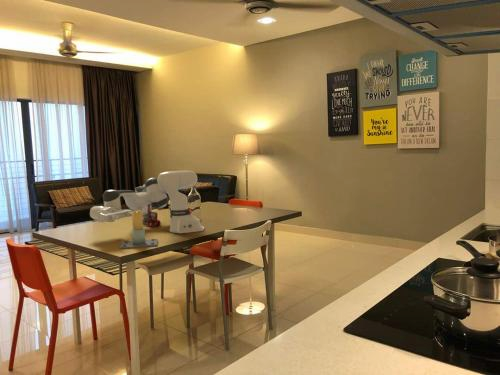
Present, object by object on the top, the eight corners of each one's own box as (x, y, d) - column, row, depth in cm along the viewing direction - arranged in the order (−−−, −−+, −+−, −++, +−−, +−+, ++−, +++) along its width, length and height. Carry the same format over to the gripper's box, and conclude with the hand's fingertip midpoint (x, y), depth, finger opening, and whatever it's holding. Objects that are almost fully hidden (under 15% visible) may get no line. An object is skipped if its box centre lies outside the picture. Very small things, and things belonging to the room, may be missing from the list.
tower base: (157, 240, 241) (156, 225, 240) (157, 246, 227) (156, 230, 226) (122, 243, 237) (121, 228, 236) (119, 249, 223) (118, 233, 222)
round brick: (143, 227, 234) (142, 209, 233) (143, 229, 229) (141, 211, 228) (133, 228, 233) (132, 210, 232) (132, 230, 228) (131, 211, 227)
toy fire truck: (153, 224, 291) (153, 209, 290) (162, 226, 281) (161, 211, 280) (144, 225, 286) (143, 211, 285) (152, 228, 277) (151, 213, 276)
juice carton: (135, 222, 301) (133, 185, 298) (142, 219, 311) (140, 184, 308) (146, 222, 299) (144, 185, 296) (153, 219, 309) (151, 183, 306)
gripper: (124, 216, 252) (139, 218, 244) (95, 222, 235) (111, 224, 228) (123, 206, 251) (139, 208, 244) (94, 212, 234) (110, 213, 227)
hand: (125, 216), depth 235 cm, fingers open, 8 cm apart
